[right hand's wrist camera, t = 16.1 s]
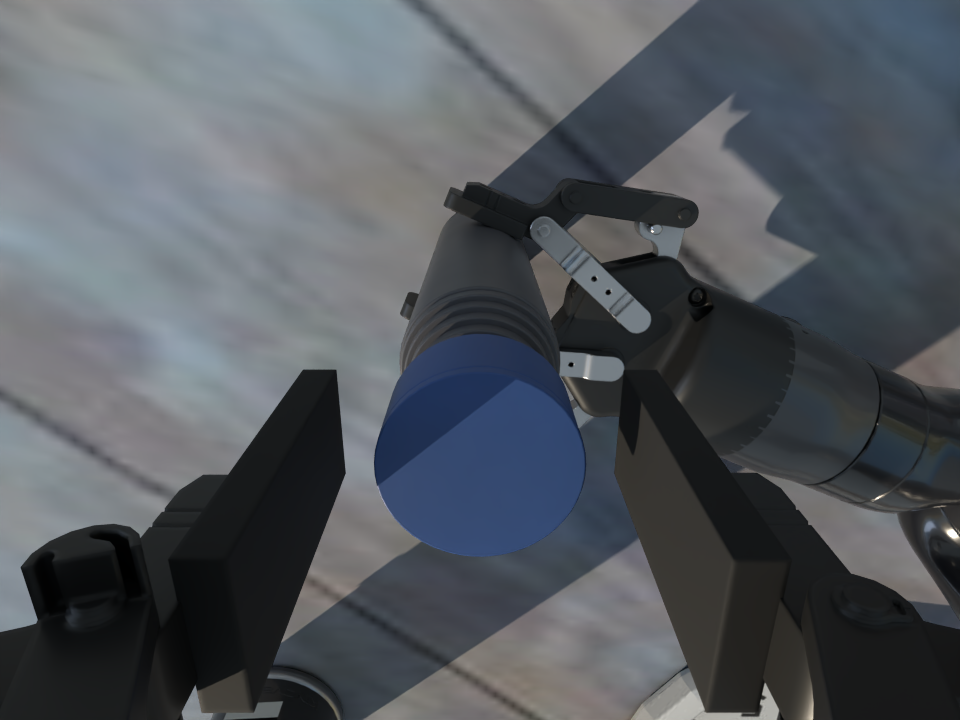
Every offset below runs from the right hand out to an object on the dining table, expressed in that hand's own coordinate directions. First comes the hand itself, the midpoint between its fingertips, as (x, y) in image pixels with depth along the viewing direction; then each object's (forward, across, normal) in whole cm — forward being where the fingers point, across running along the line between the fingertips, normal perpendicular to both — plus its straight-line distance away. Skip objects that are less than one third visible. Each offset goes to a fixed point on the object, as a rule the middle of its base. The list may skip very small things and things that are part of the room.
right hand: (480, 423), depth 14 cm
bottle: (+21, 0, 0) cm, 21 cm away
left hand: (+15, -2, +1) cm, 15 cm away
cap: (-2, 0, 0) cm, 2 cm away
